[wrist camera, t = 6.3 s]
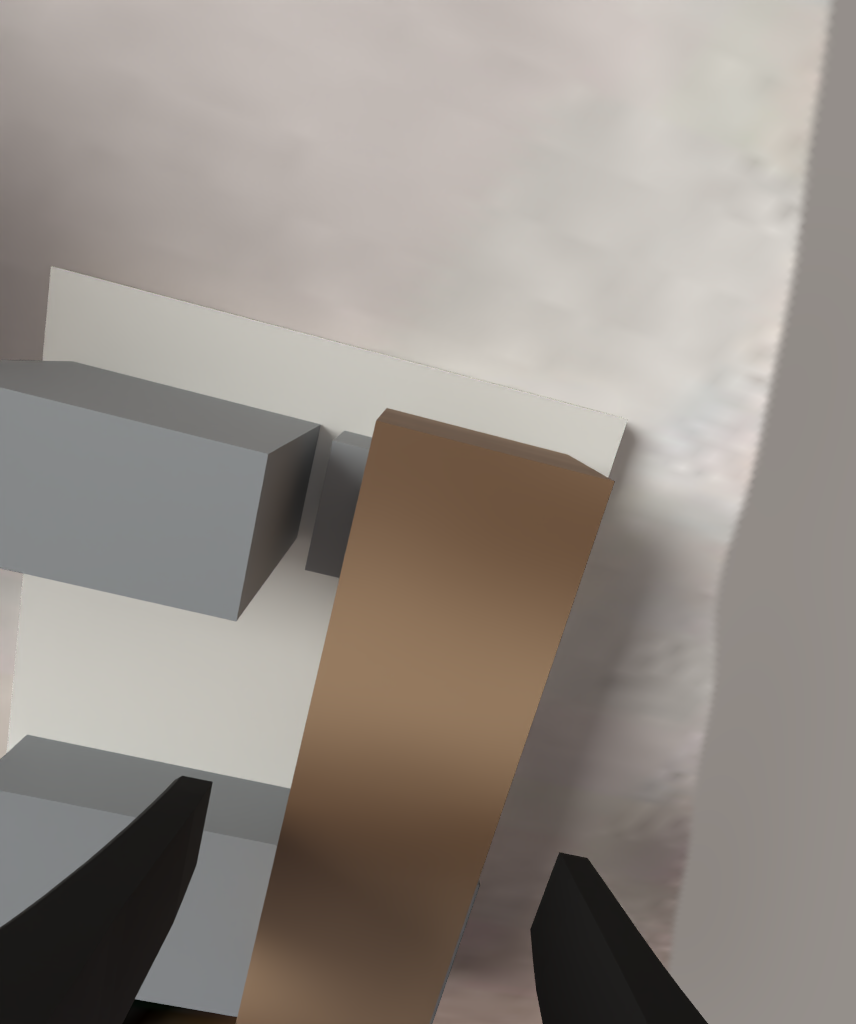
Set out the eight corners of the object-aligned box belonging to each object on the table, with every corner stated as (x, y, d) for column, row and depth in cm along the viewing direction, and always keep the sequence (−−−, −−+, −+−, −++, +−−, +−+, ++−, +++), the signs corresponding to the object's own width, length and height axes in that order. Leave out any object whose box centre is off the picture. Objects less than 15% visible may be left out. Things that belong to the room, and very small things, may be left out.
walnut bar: (393, 1004, 16) (387, 1146, 13) (252, 979, 16) (214, 1118, 13) (568, 454, 12) (614, 481, 9) (386, 407, 12) (376, 420, 9)
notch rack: (433, 960, 19) (439, 1212, 14) (14, 882, 18) (-174, 1120, 13) (614, 415, 15) (737, 445, 9) (76, 272, 14) (-170, 204, 8)
